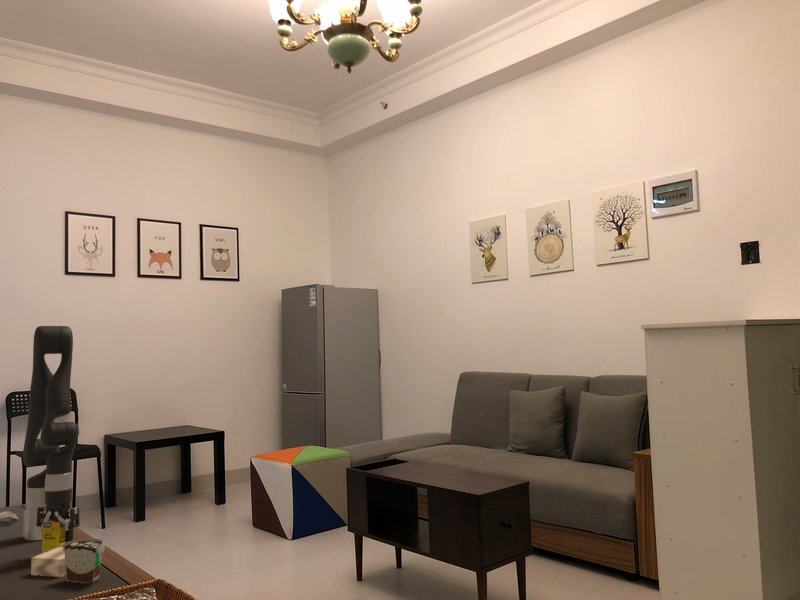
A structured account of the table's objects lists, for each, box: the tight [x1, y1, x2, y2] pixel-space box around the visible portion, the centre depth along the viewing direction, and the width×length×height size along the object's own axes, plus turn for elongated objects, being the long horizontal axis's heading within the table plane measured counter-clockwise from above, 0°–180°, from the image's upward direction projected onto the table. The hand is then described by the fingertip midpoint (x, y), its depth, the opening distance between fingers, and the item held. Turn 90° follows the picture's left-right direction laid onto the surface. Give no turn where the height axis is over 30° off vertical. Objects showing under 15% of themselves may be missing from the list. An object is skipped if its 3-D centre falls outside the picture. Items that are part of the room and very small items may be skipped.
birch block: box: [30, 547, 66, 578], centre depth 181 cm, size 10×10×5 cm
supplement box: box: [41, 518, 69, 554], centre depth 194 cm, size 6×6×11 cm
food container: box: [63, 538, 106, 584], centre depth 174 cm, size 12×6×10 cm, turn 71°
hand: (57, 541), depth 194 cm, fingers open, 8 cm apart
